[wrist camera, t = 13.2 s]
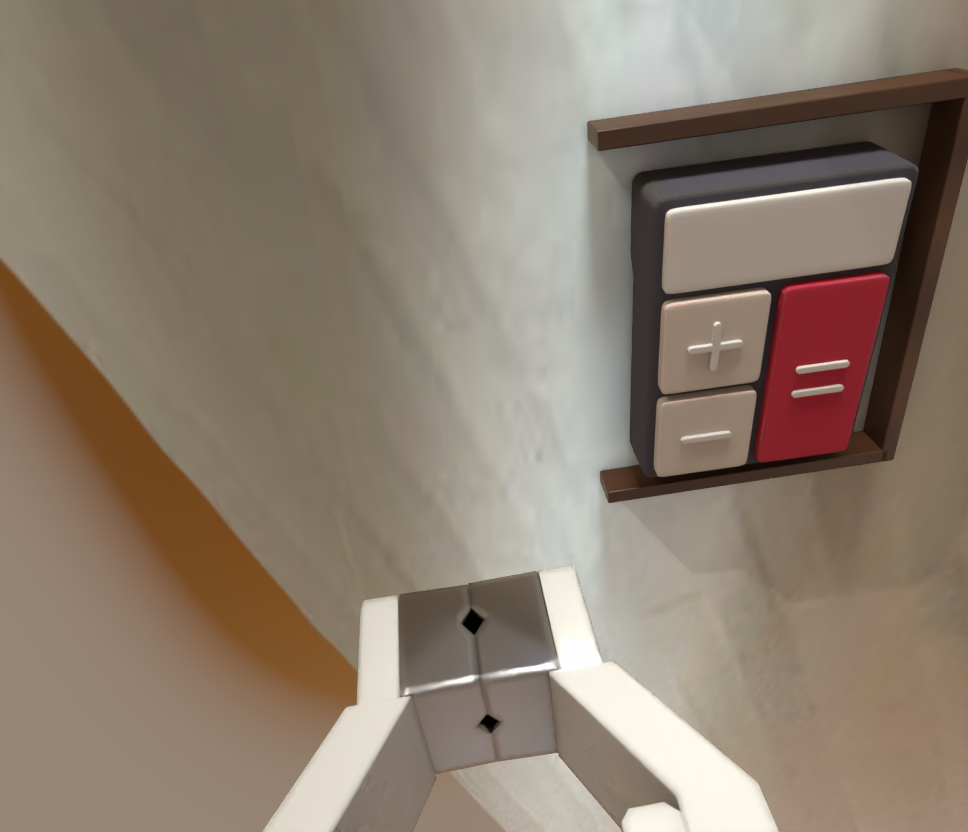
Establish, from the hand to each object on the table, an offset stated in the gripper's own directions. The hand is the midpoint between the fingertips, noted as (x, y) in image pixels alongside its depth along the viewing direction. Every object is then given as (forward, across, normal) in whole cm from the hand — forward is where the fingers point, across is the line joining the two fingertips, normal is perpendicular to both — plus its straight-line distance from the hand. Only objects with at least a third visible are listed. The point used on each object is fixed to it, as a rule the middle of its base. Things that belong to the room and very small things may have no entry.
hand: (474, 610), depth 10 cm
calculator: (+24, -14, +10) cm, 30 cm away
